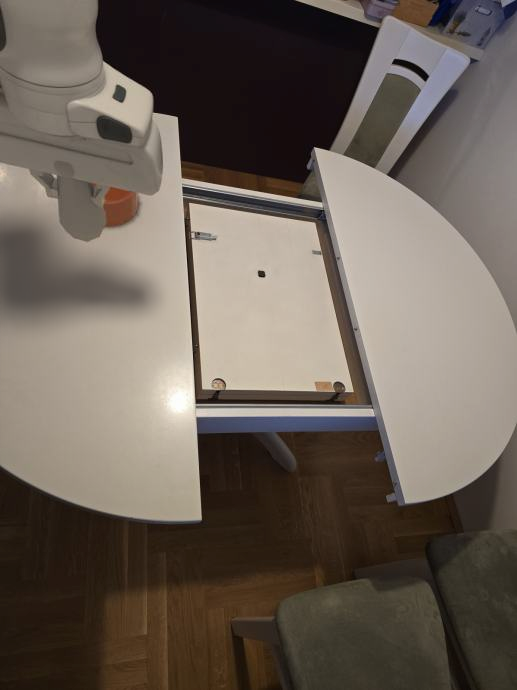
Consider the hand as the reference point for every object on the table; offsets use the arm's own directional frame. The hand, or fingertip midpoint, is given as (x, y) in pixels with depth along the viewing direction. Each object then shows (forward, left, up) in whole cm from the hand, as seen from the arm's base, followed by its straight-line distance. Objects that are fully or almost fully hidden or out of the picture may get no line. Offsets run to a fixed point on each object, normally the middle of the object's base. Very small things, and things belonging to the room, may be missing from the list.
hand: (77, 199), depth 49 cm
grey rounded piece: (0, 0, -6) cm, 6 cm away
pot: (-3, +23, -24) cm, 34 cm away
